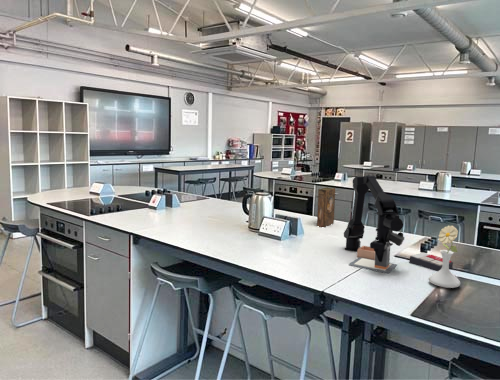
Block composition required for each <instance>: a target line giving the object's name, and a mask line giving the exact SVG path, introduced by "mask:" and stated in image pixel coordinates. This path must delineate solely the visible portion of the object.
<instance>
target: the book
mask: <svg viewBox="0 0 500 380" xmlns="http://www.w3.org/2000/svg"><path fill="white" fill-rule="evenodd" d="M317 191H318V193H317V194H318V195H317V214H316V215H317V216H316V217H317V219H316V227H317V226H319V227H318V228H322V227H324V228H326V226H327V227H329V226H331V224H332V225H333V224H334V222H335V209H336V208H335V206H336V205H335V203H336V201H335V200H336V187H333V188H331V187H323V188H319V189H318V190H317Z"/></svg>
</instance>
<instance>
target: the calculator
mask: <svg viewBox="0 0 500 380" xmlns="http://www.w3.org/2000/svg"><path fill="white" fill-rule="evenodd" d="M408 263H409V264H411V265H414V266H420V267H422V268H425V269H427V270H432V271H435V272H438V271H439V270H441V268H442V264H443V258H442V256H437V255H434V254H430V253H429V254H428V253H426V252H419V253H416V254H412V255H410V256H409V262H408ZM453 264H454V262H453V261H452V260H451V259H450V260H449V270H450V269H452V268H453V266H454V265H453Z"/></svg>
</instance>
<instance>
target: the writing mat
mask: <svg viewBox="0 0 500 380" xmlns="http://www.w3.org/2000/svg"><path fill="white" fill-rule="evenodd" d="M348 266H351V267H355V268H360V269H363V270H364V269H365V270H369V271H374V272H375V271H376V272H379V273H384V274H390V273H391V272H392V271H393V270H394V269H395V268H397V266H398V264H396V263H391V262H389V267H388V268H387V269H381V268H376V267H375V260H371V259H366V258H361V257H357V258H355V259H354V260H353V261H351V262H350V263H349V264H348Z"/></svg>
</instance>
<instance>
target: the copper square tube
mask: <svg viewBox="0 0 500 380" xmlns="http://www.w3.org/2000/svg"><path fill="white" fill-rule="evenodd" d="M356 253H357V254H356V257H357V258H359V257H361V258H366V259H371V260H375V251H374V249H373V248H370V246H368V245H361V246H360V248H359V249H358V250H357V251H356Z"/></svg>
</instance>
